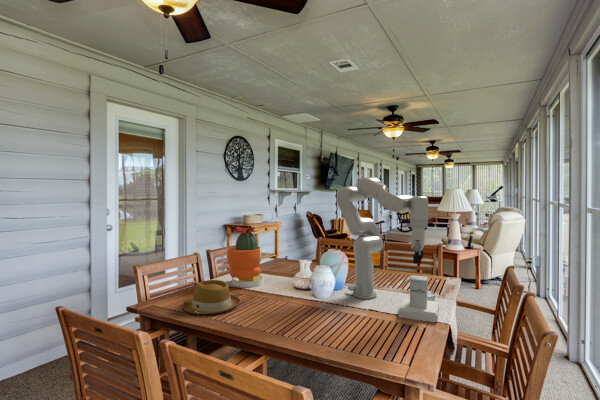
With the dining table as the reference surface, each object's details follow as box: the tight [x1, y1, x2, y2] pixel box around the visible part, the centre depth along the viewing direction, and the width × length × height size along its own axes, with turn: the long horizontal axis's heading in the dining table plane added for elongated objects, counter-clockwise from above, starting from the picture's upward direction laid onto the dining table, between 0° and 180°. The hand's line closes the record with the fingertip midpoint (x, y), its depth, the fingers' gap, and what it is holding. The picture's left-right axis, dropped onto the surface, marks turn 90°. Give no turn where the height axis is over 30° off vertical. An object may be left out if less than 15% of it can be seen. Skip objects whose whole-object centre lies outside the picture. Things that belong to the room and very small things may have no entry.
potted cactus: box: [226, 226, 265, 288], centre depth 202 cm, size 22×22×35 cm
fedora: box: [182, 279, 241, 315], centre depth 166 cm, size 27×29×12 cm
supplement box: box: [409, 274, 429, 308], centre depth 152 cm, size 7×7×13 cm
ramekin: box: [427, 289, 437, 301], centre depth 165 cm, size 11×11×5 cm
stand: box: [397, 297, 440, 323], centre depth 152 cm, size 16×16×4 cm
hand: (418, 261), depth 152 cm, fingers open, 9 cm apart
